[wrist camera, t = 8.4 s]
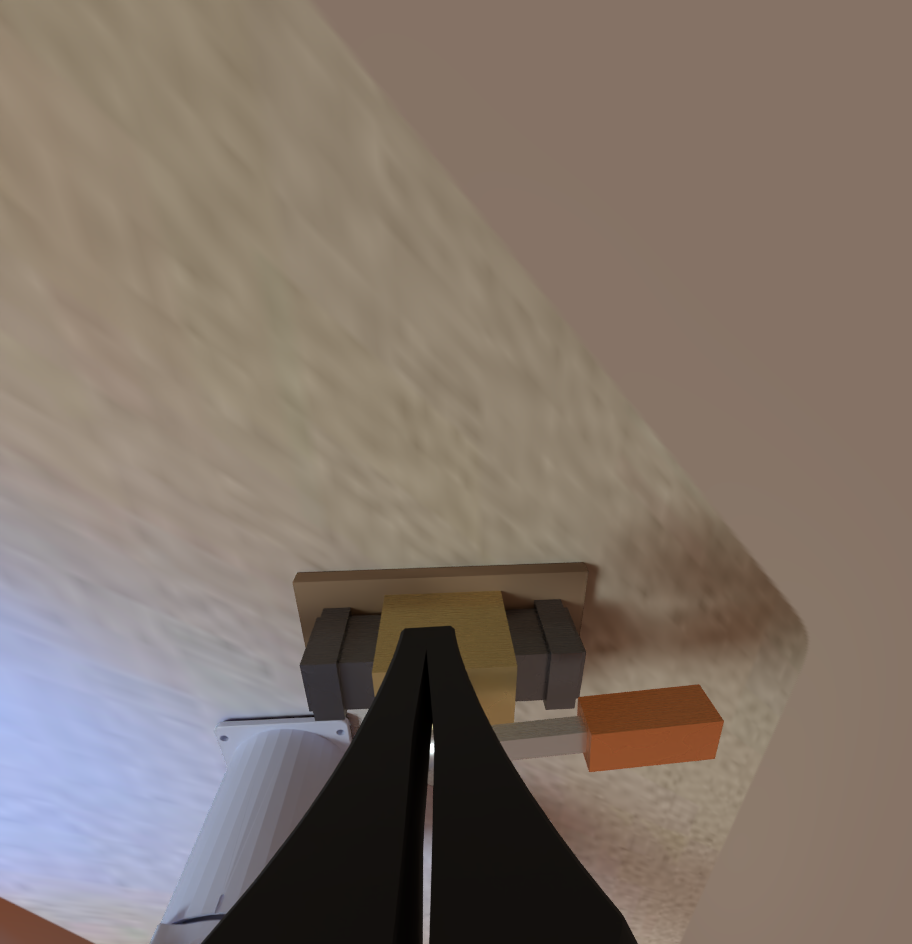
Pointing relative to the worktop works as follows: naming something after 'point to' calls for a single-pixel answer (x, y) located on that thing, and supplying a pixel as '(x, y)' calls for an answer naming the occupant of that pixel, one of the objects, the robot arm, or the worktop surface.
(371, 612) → the plank
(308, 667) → the valve
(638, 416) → the worktop surface
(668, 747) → the lever
